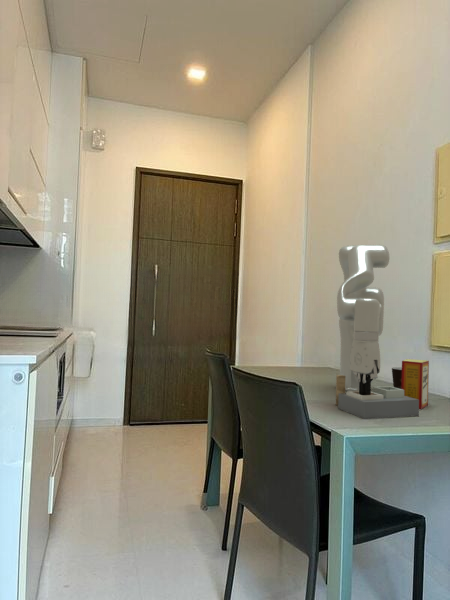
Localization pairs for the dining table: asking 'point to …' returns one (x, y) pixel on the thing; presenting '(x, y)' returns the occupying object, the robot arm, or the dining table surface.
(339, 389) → the wooden block
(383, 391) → the grey compartment tray
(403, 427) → the dining table surface
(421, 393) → the baking soda box
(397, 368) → the coffee mug
